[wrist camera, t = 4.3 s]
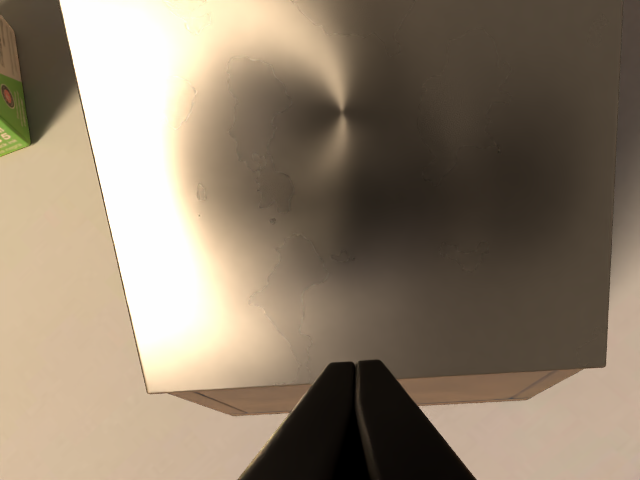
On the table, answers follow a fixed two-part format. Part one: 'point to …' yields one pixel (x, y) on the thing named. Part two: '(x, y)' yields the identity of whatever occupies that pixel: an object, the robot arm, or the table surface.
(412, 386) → the open box
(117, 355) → the table surface
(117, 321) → the table surface
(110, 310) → the table surface
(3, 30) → the ink box
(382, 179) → the box lid
